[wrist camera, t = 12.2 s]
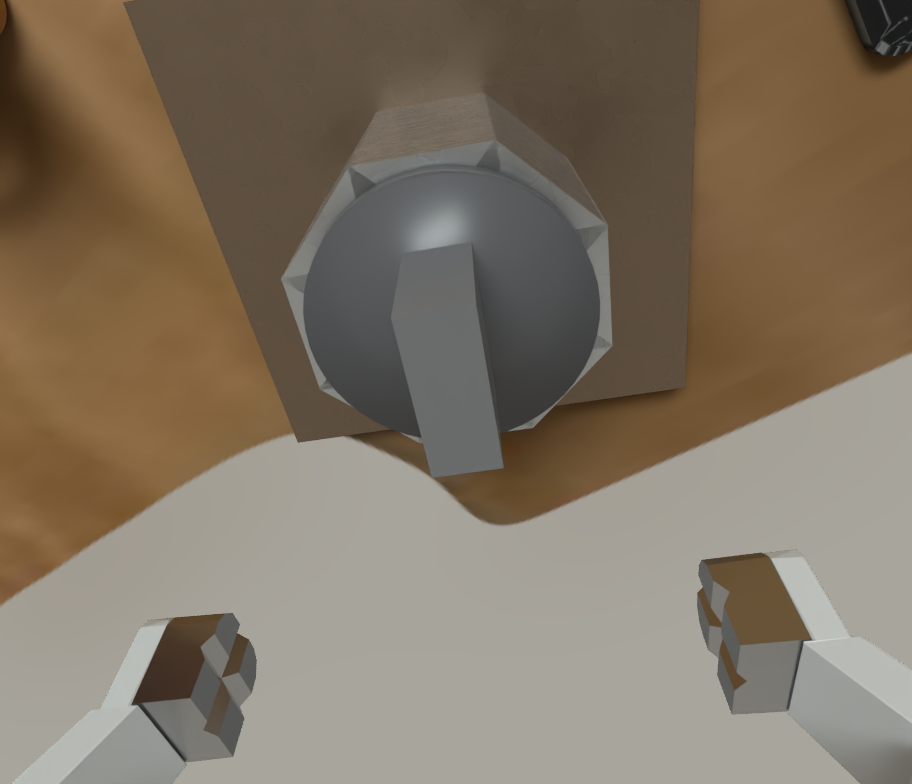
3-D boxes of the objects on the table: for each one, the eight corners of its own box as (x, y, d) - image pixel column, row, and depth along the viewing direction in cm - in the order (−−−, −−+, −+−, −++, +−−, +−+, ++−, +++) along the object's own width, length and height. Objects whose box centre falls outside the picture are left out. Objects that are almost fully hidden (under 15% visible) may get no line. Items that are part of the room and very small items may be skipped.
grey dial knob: (574, 122, 19) (628, 191, 13) (589, 373, 24) (634, 504, 18) (285, 175, 20) (215, 262, 14) (358, 407, 25) (329, 542, 19)
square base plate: (689, -116, 22) (824, -163, 14) (676, 371, 33) (747, 499, 25) (140, 0, 23) (-17, 17, 16) (303, 425, 34) (259, 560, 27)
